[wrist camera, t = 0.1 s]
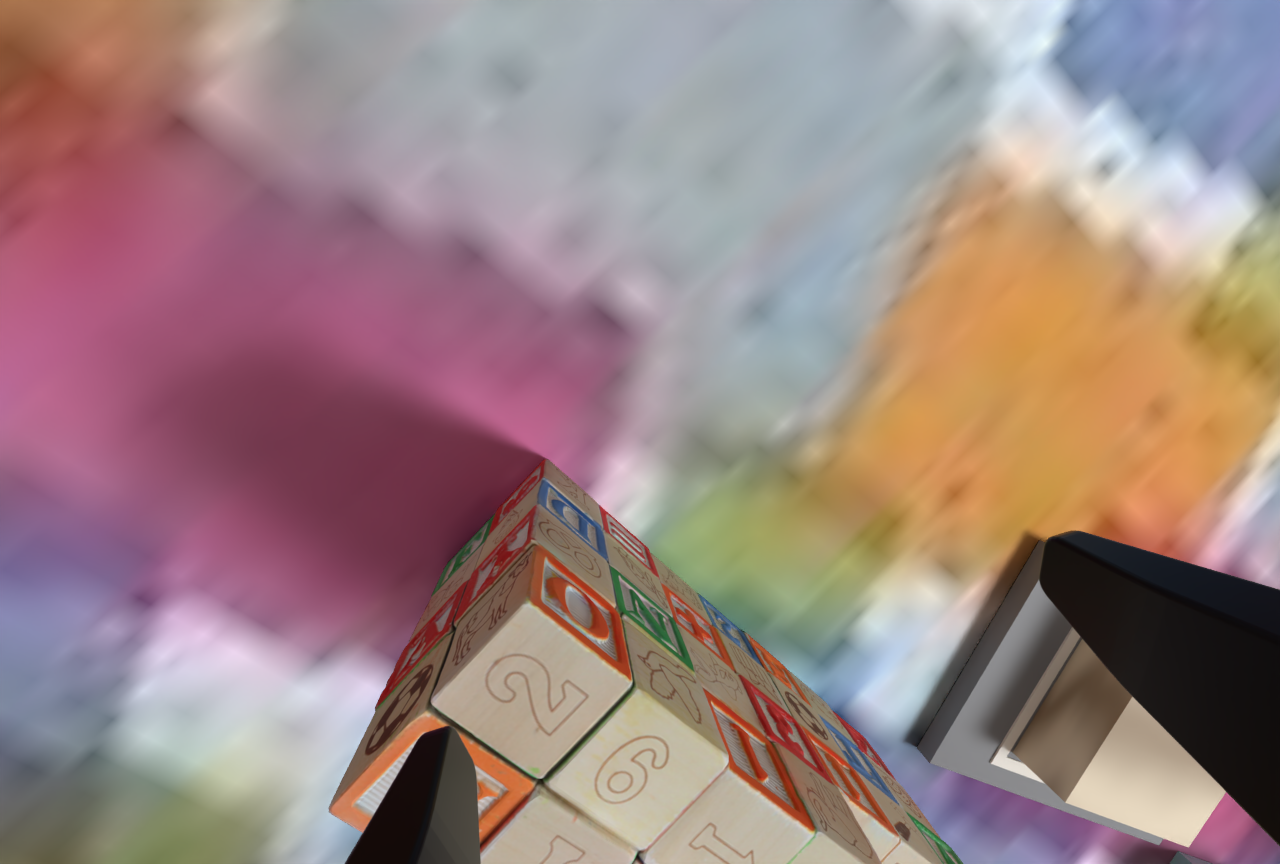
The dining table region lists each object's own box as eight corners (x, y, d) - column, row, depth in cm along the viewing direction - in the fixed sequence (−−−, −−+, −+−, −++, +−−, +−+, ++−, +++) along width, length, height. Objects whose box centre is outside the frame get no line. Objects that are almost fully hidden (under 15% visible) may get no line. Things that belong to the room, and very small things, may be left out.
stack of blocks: (867, 733, 28) (1098, 1043, 16) (779, 821, 28) (941, 1189, 16) (543, 453, 23) (525, 599, 11) (440, 563, 23) (314, 821, 11)
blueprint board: (1140, 829, 32) (1161, 847, 31) (916, 747, 28) (930, 764, 27) (1260, 648, 30) (1285, 660, 29) (1039, 540, 27) (1059, 549, 26)
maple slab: (1126, 795, 30) (1188, 847, 27) (1012, 752, 28) (1065, 802, 25) (1210, 667, 29) (1283, 706, 26) (1097, 614, 27) (1162, 650, 24)
